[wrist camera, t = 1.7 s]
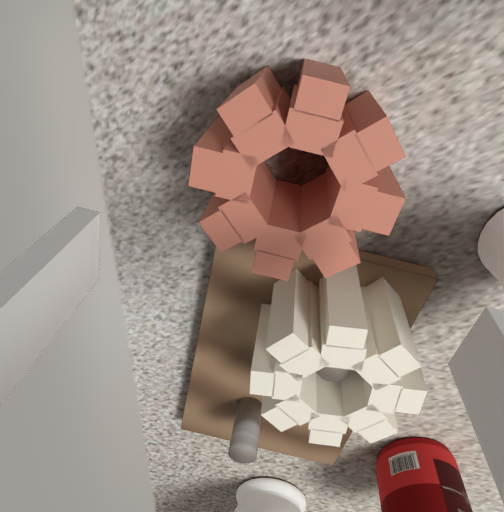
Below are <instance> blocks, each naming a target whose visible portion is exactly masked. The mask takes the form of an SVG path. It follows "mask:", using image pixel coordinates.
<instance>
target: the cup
mask: <svg viewBox="0 0 504 512" xmlns="http://www.w3.org/2000/svg"><path fill="white" fill-rule="evenodd" d="M478 255H479V257H480V260H481V262H482V264H483V265H484V266H485V267H486V268H487V269H488V270H489V271H490V272H491V273H492V275H493V276H494V277H495V278H496V279H497V280H498V281H499V282H500V284H501V286H502V287H503V289H504V208H503V209H502V210H500V211H499V212H497V213H496V214H495V215H494V216H493V217H492V218H491V219H490V220H489V221H488V222H487V224H486V225H485V227H484V228H483V230H482V232H481V234H480V237H479V241H478Z"/></svg>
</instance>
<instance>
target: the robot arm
mask: <svg viewBox="0 0 504 512" xmlns="http://www.w3.org/2000/svg"><path fill="white" fill-rule="evenodd" d="M99 267H100V212H97V211H93V210H89V209H85V208H81V207H77V208H75V209H74V210H73V211H72V212H71V213H70V214H68V215H67V216H66V217H65V218H64V219H63V220H61V221H60V222H59V223H58V224H57V225H55V226H54V227H53V228H52V229H51V230H50V231H48V232H47V233H46V234H45V235H44V236H43V237H41V238H40V239H39V240H38V241H37V242H35V243H34V244H33V245H32V246H31V247H30V248H28V249H27V250H26V251H25V252H24V253H23V254H21V255H20V256H19V257H18V258H17V259H16V260H15V261H13V262H12V263H11V264H10V265H8V266H7V267H6V268H5V269H4V270H3V271H1V272H0V406H1V405H2V404H3V402H4V401H5V400H6V399H7V397H8V396H9V395H10V393H11V392H12V391H13V390H14V388H15V387H16V386H17V384H18V383H19V382H20V381H21V379H22V378H23V377H24V375H25V374H26V373H27V372H28V370H29V369H30V367H31V366H32V365H33V364H34V363H35V361H36V360H37V359H38V357H39V356H40V355H41V354H42V352H43V351H44V350H45V348H46V347H47V346H48V345H49V343H50V342H51V341H52V339H53V338H54V337H55V336H56V334H57V333H58V332H59V330H60V329H61V328H62V327H63V325H64V324H65V323H66V321H67V320H68V319H69V317H70V316H71V315H72V314H73V312H74V311H75V310H76V308H77V307H78V306H79V305H80V303H81V302H82V301H83V300H84V298H85V297H86V296H87V294H88V293H89V292H90V290H91V289H92V288H93V287H94V285H95V284H96V283H97V281H98V280H99V271H100V268H99ZM448 365H449V367H450V370H451V372H452V375H453V378H454V380H455V383H456V385H457V388H458V390H459V393H460V395H461V398H462V400H463V403H464V405H465V408H466V410H467V413H468V415H469V418H470V420H471V423H472V425H473V428H474V430H475V433H476V435H477V438H478V440H479V443H480V445H481V448H482V450H483V453H484V455H485V458H486V461H487V463H488V466H489V468H490V471H491V473H492V476H493V478H494V481H495V483H496V486H497V488H498V491H499V493H500V496H501V498H502V501H503V503H504V311H502V310H498V309H494V308H490V307H486V308H485V309H484V311H483V312H482V314H481V315H480V317H479V318H478V320H477V321H476V323H475V324H474V326H473V327H472V329H471V330H470V332H469V333H468V335H467V336H466V338H465V339H464V341H463V342H462V344H461V345H460V347H459V348H458V350H457V351H456V353H455V354H454V356H453V357H452V359H451V360H450V362H449V363H448Z"/></svg>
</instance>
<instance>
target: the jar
mask: <svg viewBox="0 0 504 512" xmlns="http://www.w3.org/2000/svg"><path fill="white" fill-rule="evenodd" d="M236 500H237V503H238V506H237V507H236V509H235V510H234V512H304V511H305V508H306V499H305V497H304V495H303V493H302V492H301V491H300V490H299V489H298V488H296V487H295V486H293V485H292V484H290V483H287V482H285V481H282V480H278V479H273V478H256V479H251V480H248V481H246V482H244V483H243V484H241V485H240V486H239V488H238V489H237V492H236Z"/></svg>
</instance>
